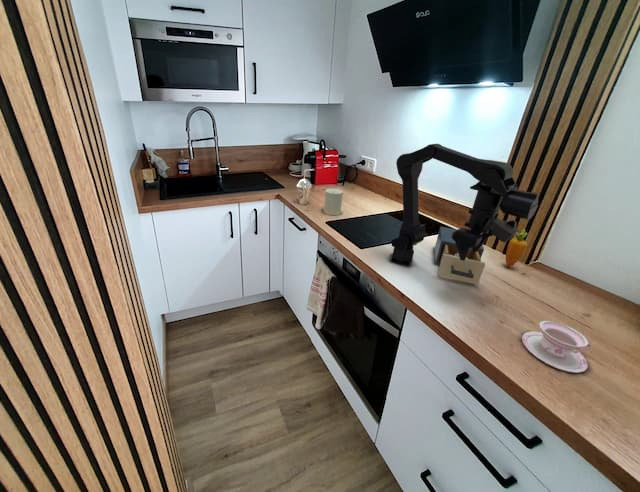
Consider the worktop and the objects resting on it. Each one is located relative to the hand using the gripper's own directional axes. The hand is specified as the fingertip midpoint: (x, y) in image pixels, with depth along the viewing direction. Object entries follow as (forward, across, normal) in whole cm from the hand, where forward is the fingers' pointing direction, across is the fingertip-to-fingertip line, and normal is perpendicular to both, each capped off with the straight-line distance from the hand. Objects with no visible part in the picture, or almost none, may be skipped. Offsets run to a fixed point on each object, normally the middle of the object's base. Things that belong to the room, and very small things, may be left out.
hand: (468, 255), depth 86 cm
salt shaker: (+10, +8, +4) cm, 14 cm away
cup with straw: (+12, +11, +88) cm, 90 cm away
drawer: (+11, +7, +4) cm, 14 cm away
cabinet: (+12, +18, +9) cm, 24 cm away
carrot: (+12, +30, -5) cm, 32 cm away
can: (+12, +15, +70) cm, 72 cm away
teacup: (+12, -7, -25) cm, 29 cm away
